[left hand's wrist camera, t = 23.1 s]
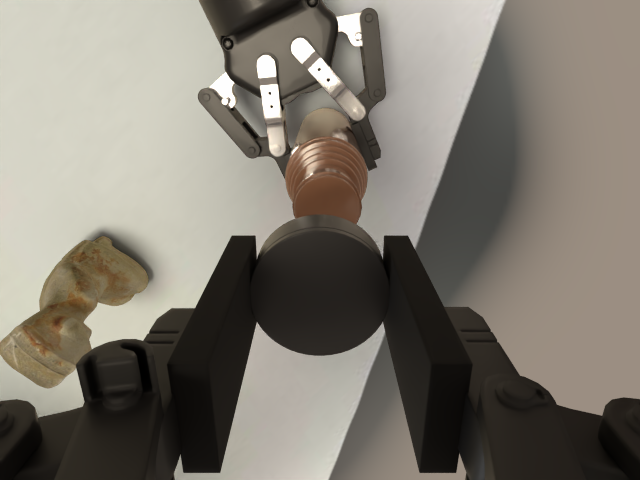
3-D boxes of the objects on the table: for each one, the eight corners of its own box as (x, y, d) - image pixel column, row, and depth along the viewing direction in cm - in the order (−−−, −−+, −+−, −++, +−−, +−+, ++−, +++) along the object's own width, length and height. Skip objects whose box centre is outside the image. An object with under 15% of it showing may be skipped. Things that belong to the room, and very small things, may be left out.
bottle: (311, 169, 41) (300, 269, 22) (290, 120, 39) (258, 180, 20) (359, 149, 40) (392, 234, 21) (340, 99, 39) (356, 140, 19)
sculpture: (121, 303, 46) (34, 408, 32) (68, 252, 44) (-49, 340, 30) (162, 273, 45) (89, 370, 31) (110, 219, 43) (7, 296, 29)
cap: (398, 310, 15) (406, 335, 14) (281, 342, 16) (277, 370, 14) (363, 196, 14) (368, 212, 12) (236, 236, 14) (226, 256, 13)
